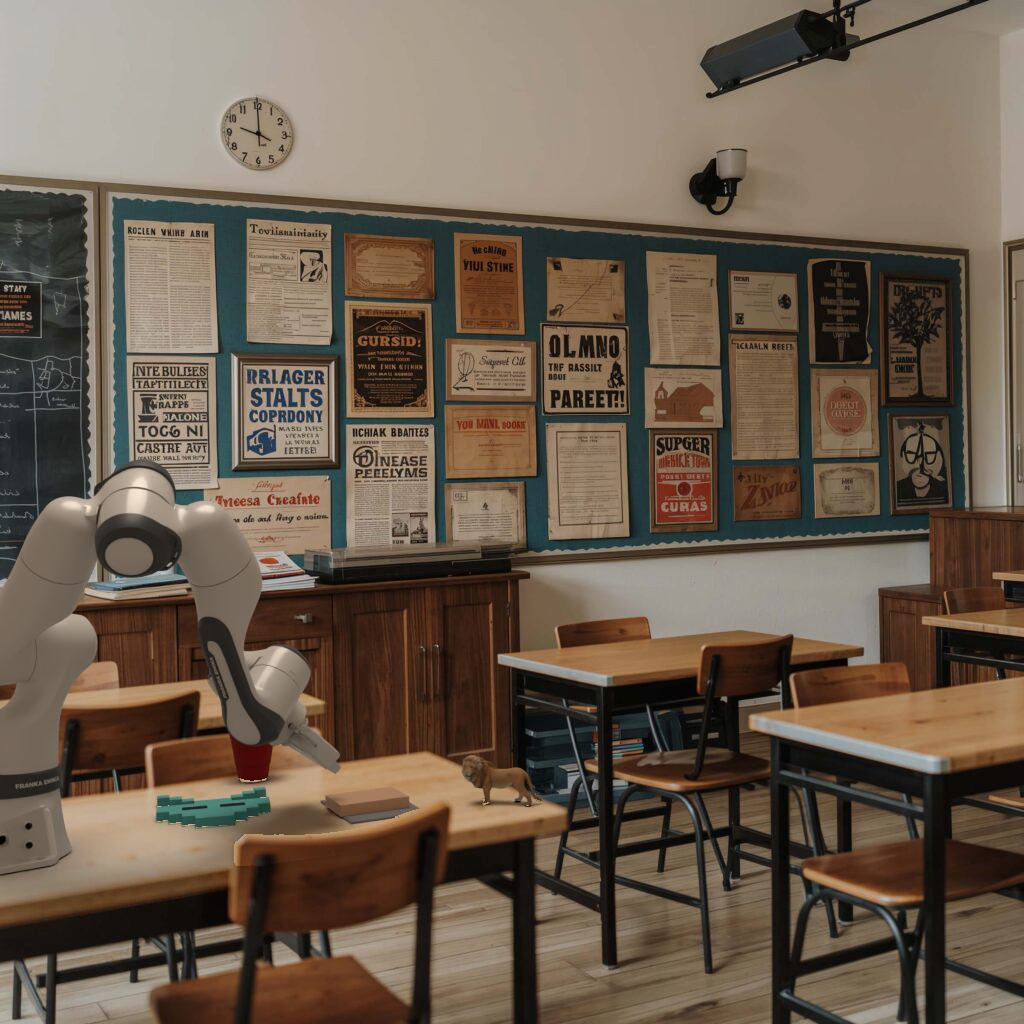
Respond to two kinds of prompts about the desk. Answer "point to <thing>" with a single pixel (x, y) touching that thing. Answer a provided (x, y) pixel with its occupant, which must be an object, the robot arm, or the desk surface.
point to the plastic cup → (251, 760)
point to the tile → (366, 801)
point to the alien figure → (213, 808)
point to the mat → (376, 814)
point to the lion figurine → (496, 778)
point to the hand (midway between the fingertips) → (336, 769)
